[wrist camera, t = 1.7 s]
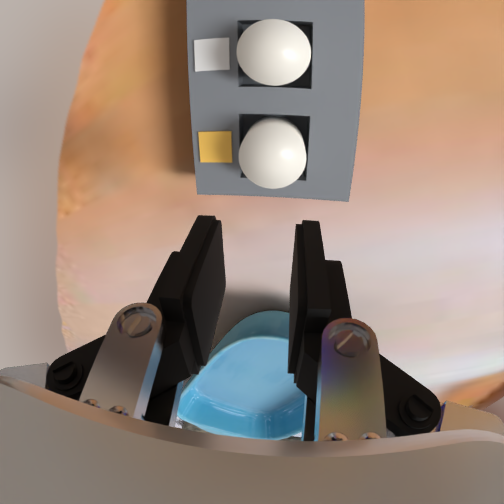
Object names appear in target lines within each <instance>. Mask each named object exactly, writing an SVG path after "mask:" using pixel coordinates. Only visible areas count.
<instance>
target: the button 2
mask: <svg viewBox="0 0 504 504" xmlns="http://www.w3.org/2000/svg"><path fill="white" fill-rule="evenodd" d="M239 164H240V167H241V169H242V171H243V173H244V174H245V176H246V177H247V178H248V179H249V180H250V181H252V182H253V183H255V184H256V185H258V186H261V187H264V188H270V189H277V188H282V187H286V186H288V185H290V184H292V183H293V182H295V181H296V180H297V179H298V178H299V177H300V176H301V174H302V172H303V171H304V168H305V165H306V150H305V146H304V141H303V137H302V134H301V132H300V130H299V128H298V127H297V126H296V125H295V124H294V123H293V122H291V121H290V120H288V119H286V118H283V117H279V116H269V117H264V118H262V119H260V120H258V121H256V122H255V123H254V124H253V125H252V126H251V127H250V129H249V130H248V132H247V134H246V136H245V138H244V140H243V142H242V144H241V146H240V149H239Z"/></svg>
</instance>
